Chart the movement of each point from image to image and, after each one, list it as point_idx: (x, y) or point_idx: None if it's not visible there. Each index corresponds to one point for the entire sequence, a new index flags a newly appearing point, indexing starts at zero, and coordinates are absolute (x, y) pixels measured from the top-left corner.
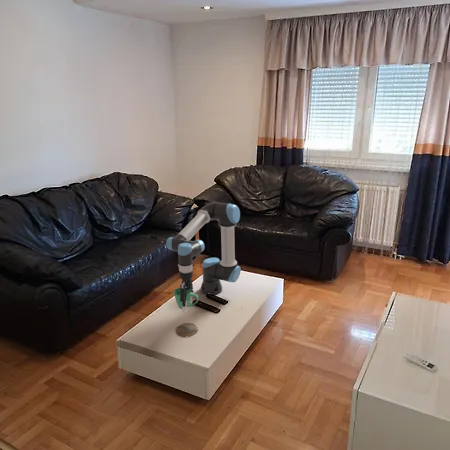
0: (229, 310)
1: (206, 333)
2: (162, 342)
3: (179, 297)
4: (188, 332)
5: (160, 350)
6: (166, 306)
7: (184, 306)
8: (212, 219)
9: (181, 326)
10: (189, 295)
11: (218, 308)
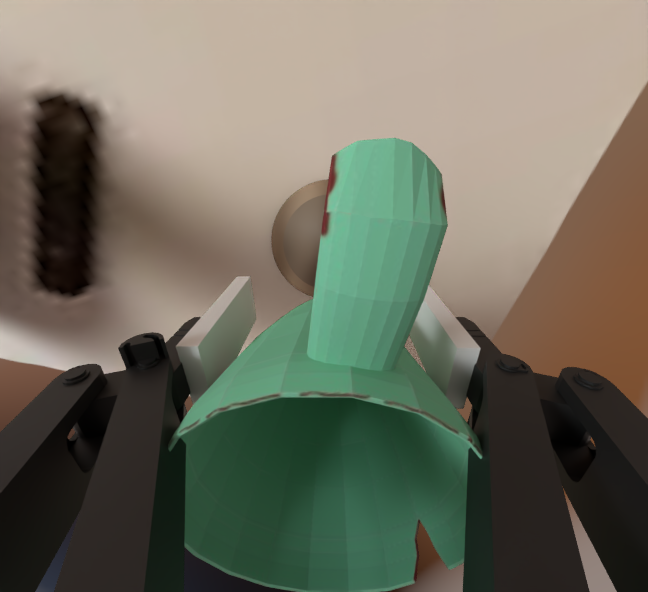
0: (3, 6)
1: (340, 111)
2: None
3: (465, 477)
4: None
5: (508, 307)
6: None
7: (469, 325)
8: None
9: None
10: (393, 365)
11: (35, 115)
